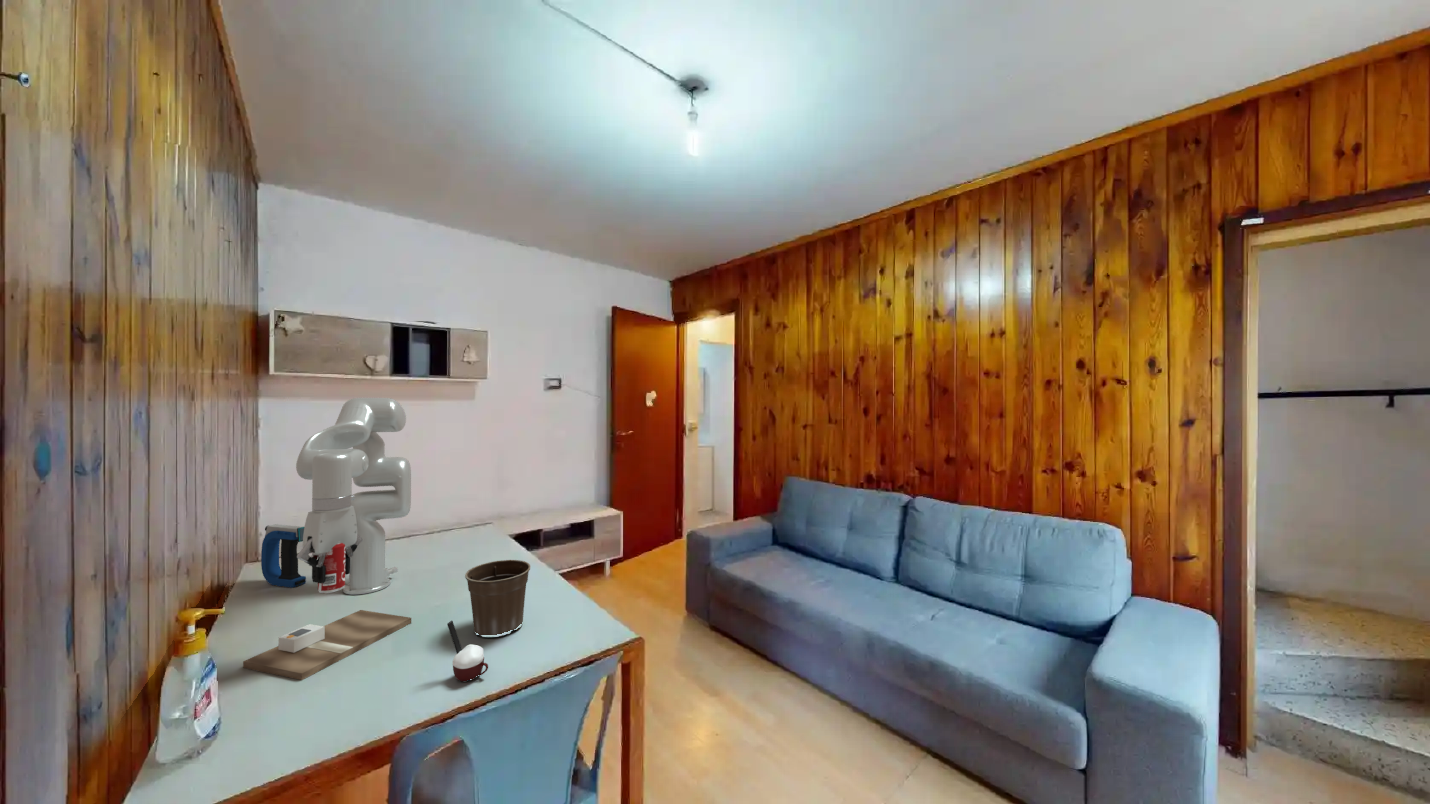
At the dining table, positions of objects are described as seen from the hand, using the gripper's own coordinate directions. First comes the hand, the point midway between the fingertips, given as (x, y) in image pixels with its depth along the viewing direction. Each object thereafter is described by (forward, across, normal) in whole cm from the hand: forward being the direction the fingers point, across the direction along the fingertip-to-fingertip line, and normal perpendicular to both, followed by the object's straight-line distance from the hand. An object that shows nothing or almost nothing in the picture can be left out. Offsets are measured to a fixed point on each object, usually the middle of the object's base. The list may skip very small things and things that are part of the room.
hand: (331, 577), depth 116 cm
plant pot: (+19, -22, +30) cm, 42 cm away
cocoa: (+19, -1, +39) cm, 43 cm away
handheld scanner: (+19, -29, -58) cm, 68 cm away
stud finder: (+17, +1, -8) cm, 19 cm away
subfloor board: (+19, -4, -4) cm, 20 cm away
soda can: (+3, 0, 0) cm, 3 cm away
